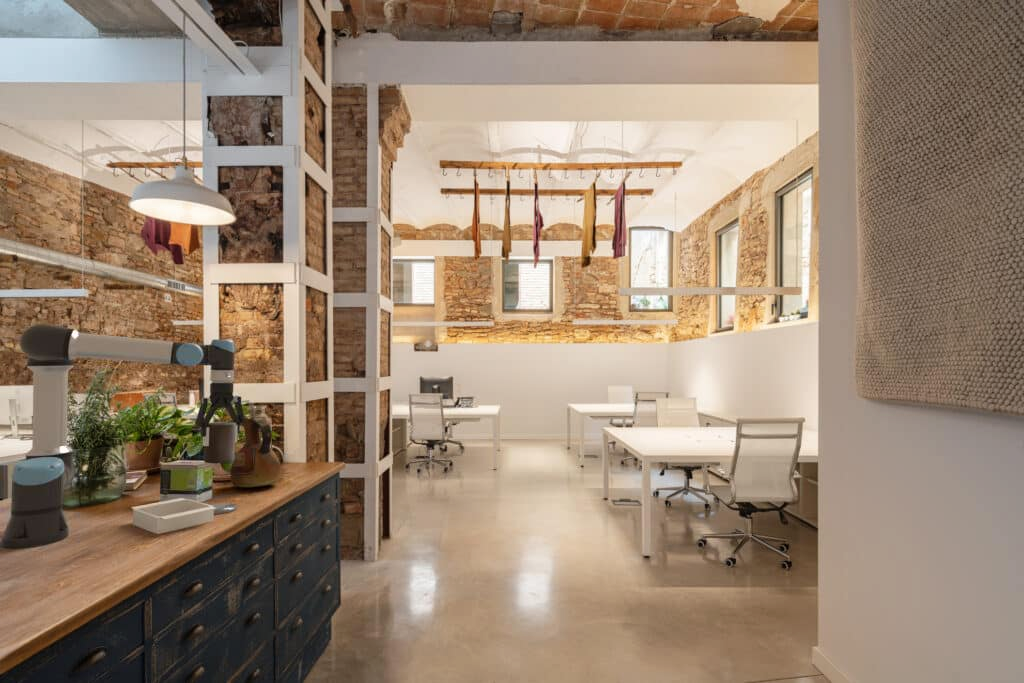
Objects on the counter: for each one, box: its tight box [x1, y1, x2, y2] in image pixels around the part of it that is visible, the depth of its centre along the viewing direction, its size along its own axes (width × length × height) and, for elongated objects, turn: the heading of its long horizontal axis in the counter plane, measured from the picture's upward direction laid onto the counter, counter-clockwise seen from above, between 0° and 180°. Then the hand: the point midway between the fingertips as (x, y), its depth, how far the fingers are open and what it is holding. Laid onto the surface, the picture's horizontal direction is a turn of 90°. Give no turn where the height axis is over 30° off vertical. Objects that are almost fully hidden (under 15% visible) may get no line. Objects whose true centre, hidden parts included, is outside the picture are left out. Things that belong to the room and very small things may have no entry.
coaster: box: [210, 502, 238, 516], centre depth 200 cm, size 12×12×1 cm
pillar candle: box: [203, 419, 236, 464], centre depth 201 cm, size 10×10×15 cm
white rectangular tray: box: [130, 498, 217, 535], centre depth 184 cm, size 17×23×5 cm
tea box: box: [159, 460, 214, 503], centre depth 213 cm, size 15×10×15 cm, turn 84°
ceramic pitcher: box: [229, 416, 282, 488], centre depth 238 cm, size 20×20×30 cm
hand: (220, 444), depth 201 cm, fingers closed on pillar candle, 10 cm apart
